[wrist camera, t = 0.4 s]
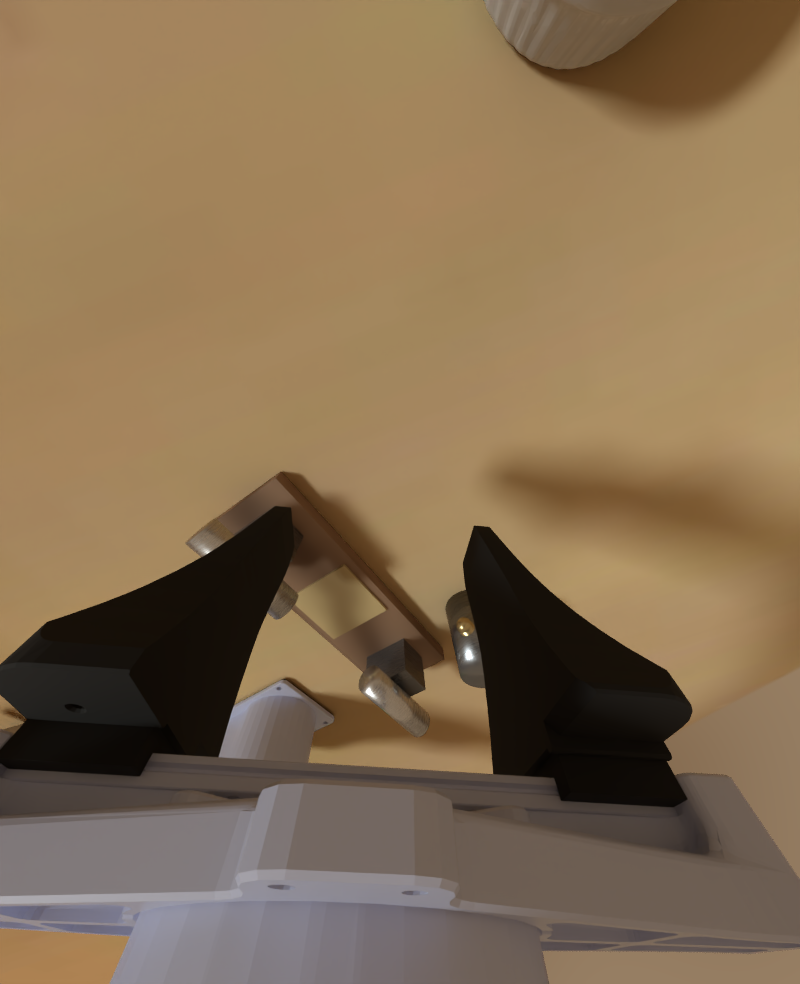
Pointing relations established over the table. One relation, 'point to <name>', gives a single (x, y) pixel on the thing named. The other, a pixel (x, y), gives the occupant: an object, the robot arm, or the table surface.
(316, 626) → the shaft board
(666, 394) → the table surface
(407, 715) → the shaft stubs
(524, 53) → the ramekin
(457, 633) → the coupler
